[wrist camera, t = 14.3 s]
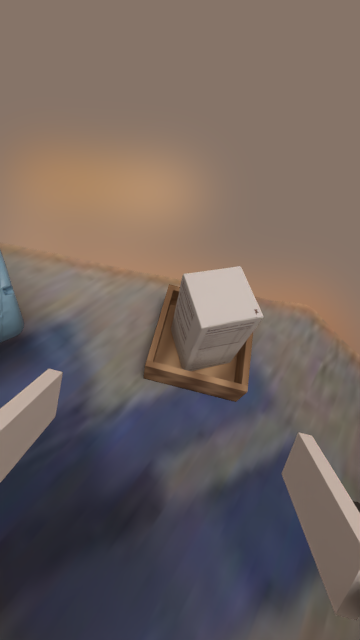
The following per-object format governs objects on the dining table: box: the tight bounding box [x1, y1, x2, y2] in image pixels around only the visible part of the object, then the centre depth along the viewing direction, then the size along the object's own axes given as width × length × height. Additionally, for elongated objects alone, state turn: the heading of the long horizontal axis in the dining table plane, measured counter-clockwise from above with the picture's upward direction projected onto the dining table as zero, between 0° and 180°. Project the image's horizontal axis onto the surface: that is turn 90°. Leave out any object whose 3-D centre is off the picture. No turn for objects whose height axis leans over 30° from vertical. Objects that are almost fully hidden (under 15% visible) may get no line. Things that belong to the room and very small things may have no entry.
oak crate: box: [144, 284, 253, 402], centre depth 54 cm, size 17×17×6 cm
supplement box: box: [171, 266, 263, 371], centre depth 48 cm, size 10×9×17 cm
